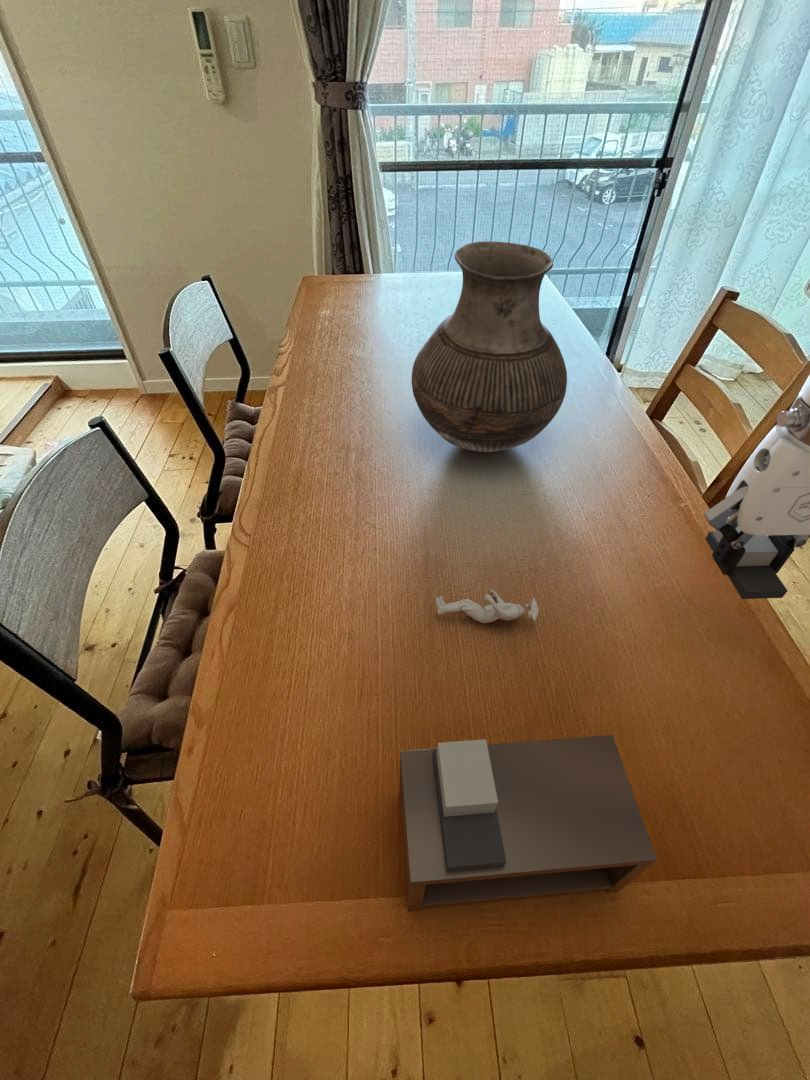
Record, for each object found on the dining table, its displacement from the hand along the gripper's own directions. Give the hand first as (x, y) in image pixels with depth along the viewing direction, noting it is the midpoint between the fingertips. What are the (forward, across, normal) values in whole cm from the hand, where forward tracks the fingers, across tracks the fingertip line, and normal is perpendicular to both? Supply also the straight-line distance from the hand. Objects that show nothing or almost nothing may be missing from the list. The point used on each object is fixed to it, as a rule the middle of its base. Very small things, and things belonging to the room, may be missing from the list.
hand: (744, 563), depth 61 cm
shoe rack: (+12, -29, -23) cm, 39 cm away
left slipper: (+2, -33, -23) cm, 41 cm away
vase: (+12, -22, +41) cm, 48 cm away
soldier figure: (+12, -27, +3) cm, 30 cm away
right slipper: (+1, 0, 0) cm, 1 cm away
